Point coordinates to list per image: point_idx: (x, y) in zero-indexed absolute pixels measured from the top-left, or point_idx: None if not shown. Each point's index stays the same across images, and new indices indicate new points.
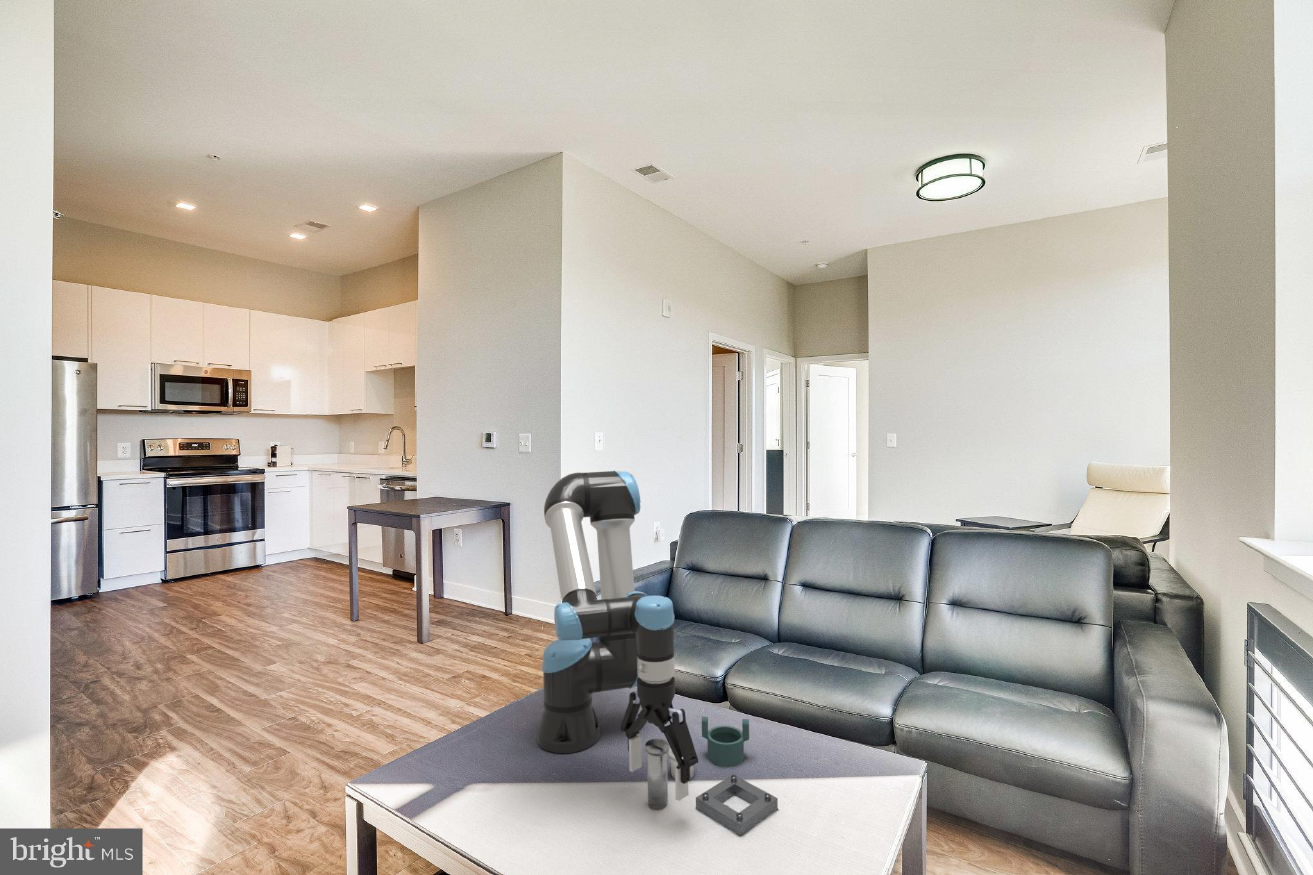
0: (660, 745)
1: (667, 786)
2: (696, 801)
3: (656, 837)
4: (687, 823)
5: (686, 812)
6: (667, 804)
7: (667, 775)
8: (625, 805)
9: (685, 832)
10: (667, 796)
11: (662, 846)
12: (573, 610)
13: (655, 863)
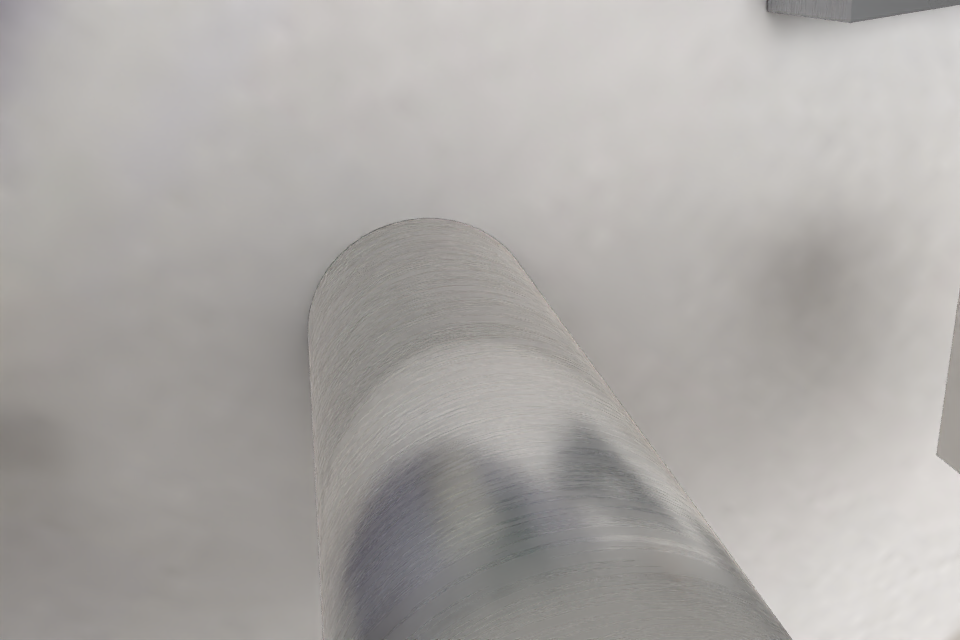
0: None
1: (575, 342)
2: (825, 14)
3: (781, 538)
4: (854, 241)
5: (737, 149)
6: (517, 261)
7: (610, 405)
8: (257, 597)
9: (914, 322)
10: (536, 289)
11: (878, 540)
12: None
13: (944, 633)
